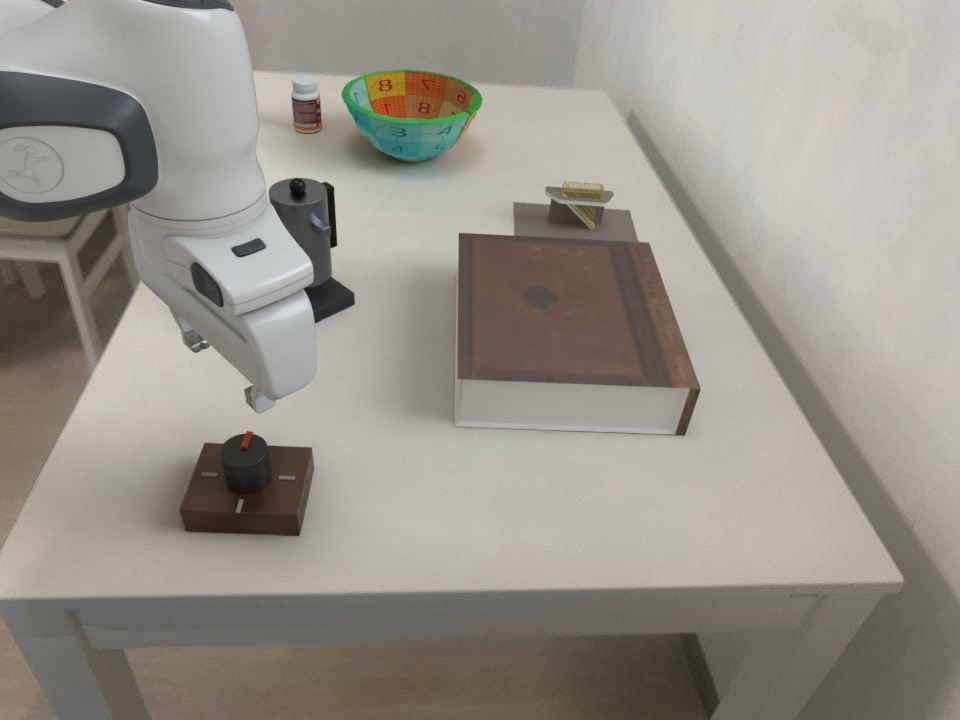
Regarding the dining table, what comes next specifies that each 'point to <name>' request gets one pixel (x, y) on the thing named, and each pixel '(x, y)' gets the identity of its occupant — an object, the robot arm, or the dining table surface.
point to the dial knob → (245, 463)
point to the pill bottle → (306, 105)
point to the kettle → (308, 220)
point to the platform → (575, 216)
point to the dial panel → (249, 495)
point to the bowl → (411, 111)
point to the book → (567, 338)
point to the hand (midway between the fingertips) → (228, 375)
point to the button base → (329, 298)
